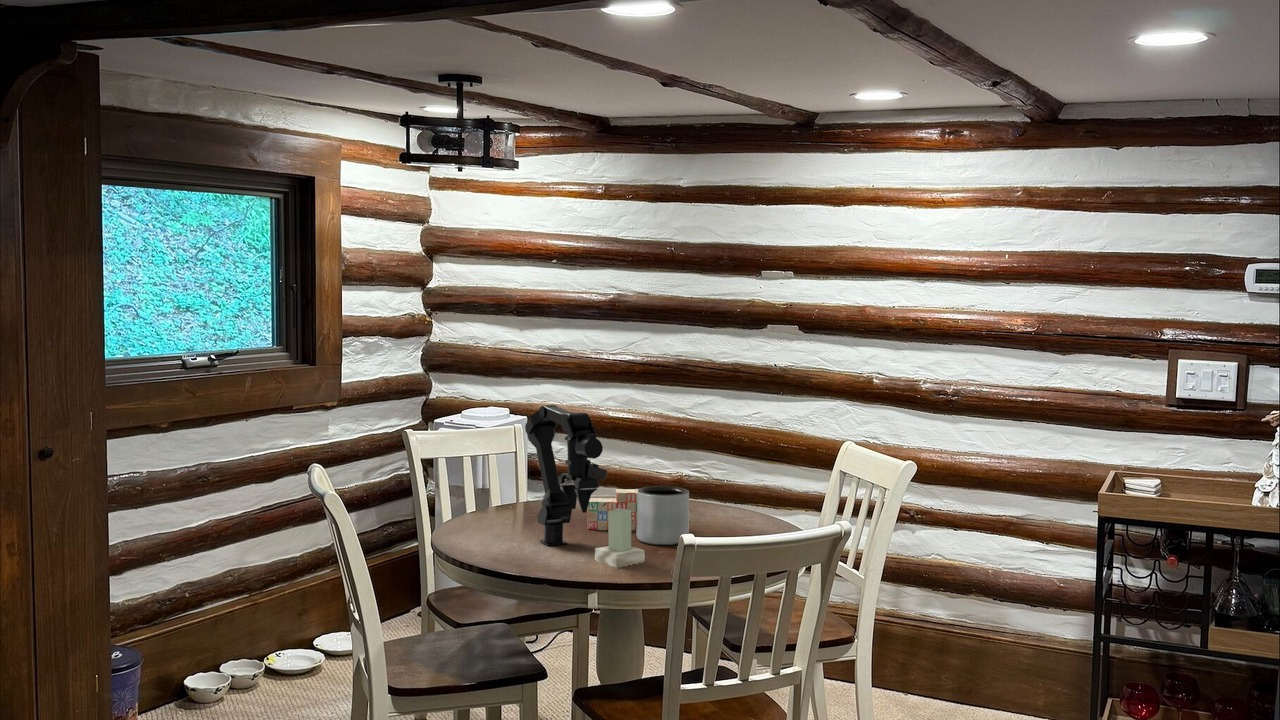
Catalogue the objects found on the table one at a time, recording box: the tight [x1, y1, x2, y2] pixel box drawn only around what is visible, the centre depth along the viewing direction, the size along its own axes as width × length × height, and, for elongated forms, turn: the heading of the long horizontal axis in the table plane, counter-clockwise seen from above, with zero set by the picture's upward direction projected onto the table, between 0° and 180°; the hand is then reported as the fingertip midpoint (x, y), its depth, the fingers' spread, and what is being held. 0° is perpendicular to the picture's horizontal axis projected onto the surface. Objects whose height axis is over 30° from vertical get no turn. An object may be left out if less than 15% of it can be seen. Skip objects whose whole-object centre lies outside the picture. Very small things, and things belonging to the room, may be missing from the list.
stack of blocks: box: [587, 488, 639, 531], centre depth 358 cm, size 21×6×12 cm, turn 93°
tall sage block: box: [607, 508, 632, 552], centre depth 314 cm, size 5×5×11 cm
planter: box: [635, 485, 690, 546], centre depth 342 cm, size 16×16×16 cm
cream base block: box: [594, 545, 646, 568], centre depth 315 cm, size 10×10×4 cm
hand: (578, 510), depth 321 cm, fingers open, 9 cm apart
